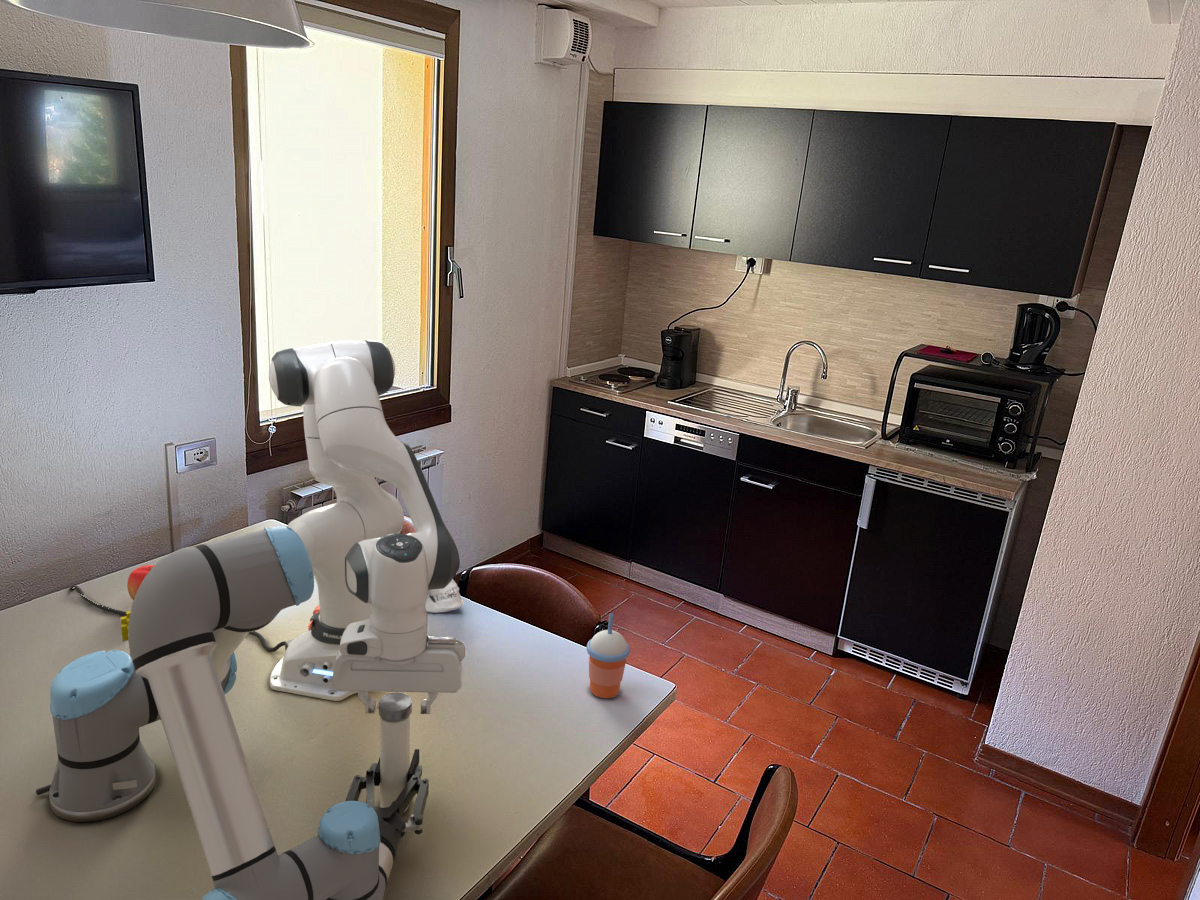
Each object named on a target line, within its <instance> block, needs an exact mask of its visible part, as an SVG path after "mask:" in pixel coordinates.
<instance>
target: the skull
mask: <svg viewBox="0 0 1200 900" xmlns="http://www.w3.org/2000/svg"><path fill="white" fill-rule="evenodd" d="M430 596H431V597H433V599H434V600H432V599H431V597H430ZM464 602H465V601H464V600H463V599H462V596H461V594H460V587H459V586H458V584H457V583H456V581H455V580H454V578H453V579H452V581H451V582H450V583H449V584H448V585H447V586H446V587H445V588H443V589H433V590H428V597H427V600H426V604H425V607H426V611H427V613H433V614H435V613H436V614H437V613H447V612H451V611H454V610H455V611H456V610H458V609H460V608H463V606H464Z"/></svg>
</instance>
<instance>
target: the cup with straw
mask: <svg viewBox="0 0 1200 900" xmlns="http://www.w3.org/2000/svg"><path fill="white" fill-rule="evenodd" d="M613 623H614V614H613V613H609V614H608V624H607V629H604V630H603V629H602V630H600V631H599V632H597V633H596V634H594V635H593V637H592V638H591V639H589V640H588V642H587V644H586V652H587V654H588V678H589V690H590V693H592V695H594V696H595V697H598V698H601V699H611V698H614V697H616V696H617V695H618V694H619V691H620V688H621V684H622V681H623V678H624V674H625V673H624V672H625V669H626V664H627V663H626V662H627V660H626V659H627V658H628V657H629V656H630V653H631V647H630V645H629V643H628V642H627V640H626V639H625V637H624V636H623V635H622V634H621V633H620V632H618V631H616V630H613V626H614V624H613Z"/></svg>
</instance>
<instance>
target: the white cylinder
mask: <svg viewBox="0 0 1200 900" xmlns="http://www.w3.org/2000/svg"><path fill="white" fill-rule="evenodd" d="M410 726H411V714H410V715H409V716H408V717H407V718H405V719H403V720H399V721H387V720H384V719H382V718H381V717H380V716H379V739H380V740H379V758H380V785H379V797H380V798H379V807H381V808H385V807H390V805H391V804H392V802H393V801H395V800H396V799H397V797H398V796H399V794H400V793H401V791H402V790H403V789H404V787H405V786H406V784H407V774H408V771H409V767H410V741H411V740H410V738H411V737H410V736H411V735H410V734H411V733H410V732H411V731H410V729H411V727H410ZM409 805H410V804H409ZM409 805H408V807H407V808H406V810H405V811H404V813H405V812H407V810H408V809H409Z"/></svg>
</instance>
